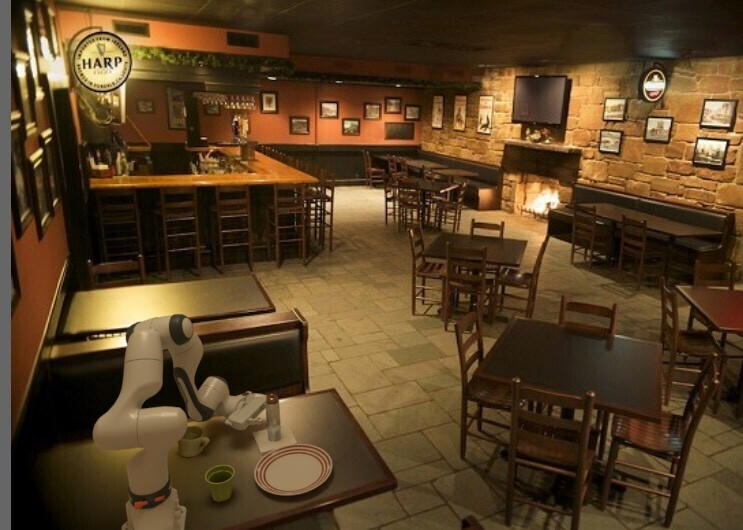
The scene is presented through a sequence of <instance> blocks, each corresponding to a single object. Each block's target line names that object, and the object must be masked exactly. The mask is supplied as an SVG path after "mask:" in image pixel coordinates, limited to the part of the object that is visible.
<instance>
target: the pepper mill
mask: <svg viewBox="0 0 743 530" xmlns="http://www.w3.org/2000/svg"><path fill="white" fill-rule="evenodd" d="M265 404H266V409H265V416H266V417H265V419H266V429H267V436H268V440H269V441H271V442H276V441H278V440H280V439H281V425H282V424H281V411H280V409H281V408H280V400H279V395H277V394H276V393H273V392H271V393H270V394H267V397H266V402H265Z"/></svg>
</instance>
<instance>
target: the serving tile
mask: <svg viewBox="0 0 743 530" xmlns="http://www.w3.org/2000/svg"><path fill="white" fill-rule="evenodd" d="M280 425H281V439H280V440H278V441H276V442H271V441H269V440H268V436H267V428H265V429H261V430H257V431H253V432H252V437H253V439H254V442H255V443H256V446H257V448H258V451H259V453H260V456H265V455H266V454H267V453H269V452H271V451H273V450H275V449H277V448H279V447H283V446H286V445H292V444H298V442H297V440H296V438H295V436H294V435H293V432H292V431H291V429H290V427H289V425H288V424H287V423H284V424H280Z"/></svg>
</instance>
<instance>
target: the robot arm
mask: <svg viewBox="0 0 743 530" xmlns="http://www.w3.org/2000/svg"><path fill="white" fill-rule="evenodd" d="M125 342H126V348H125V354H124V365H123V376H122V384H121V389H120V393H119V395H118V397H117V399H116V401H115V402H114V404H113V405H112V406H111V407H110V408H109V410H108V411H107V412H105V413H104V414H102V415H101V416H100V417H99V418H98V419H97V421H96V422H95V423H94V426H93V430H92V439H93V442H94V444H95V445H96V446H97V448H98V449H100V450H105V451H123V450H131V449H138V448H139V449H140V448H142V449H141V450H138V452H136V453H134V455H133V456H132V457H131V458H130V459H129V461H128V463H127V466H126V472H127V480H128V492H127V493H128V498H129V500H128V501H127V502H126V503H125V509H126V516H127V517H126V518H127V521H126V522H124V524H122V525H121V530H185V529H186V528H185V526H186V517H187V511H188V510H187V508H186V506H184V505H180V499H179V496H178V490H177V489H176V488H174V487H173V486H172V479H171V477H170V474H169V469H168V468H169V467H168V457H169V452H171V450H172V448H173V447H174V445H175V444H176V443H178V441H179V440H180V439H181V438H182V437H183V436H184V434H185V432H186V430H187V427H188V424H189V423H188V417H189V418H190V419H191V420H192V421H194V422H196V423H202V422H204V423H205V422H207V421H209V420H211V419H212V417H213V416H215V417H224V418H225V419H224V420H223V424H224V425H226V426H229V427H230V428H232V429H235V430H238V431H244V430H246V429H247V427H248V426H253V425H259V426H261V424H263V419H262V418H260V417H259V416H260V415H261V413H262V412H264V411H265V410H266V404H265V402H266V397H267V396H268V394H262V393H255V392H252V391H249V390H248V391H245V392H243V393H241V394H238V395H230V388H229V385H228V382H227V380H226V379H225V378H224V377H221V376H218V375H211V376H208V377H206V379H205V380H204V382H203V383H202V385H201V386H200V387H199V389H197V386H196V384H195V375H196V372H197V371H198V370H197V369H198V367H199V364H200V362H201V360H202V359H203V356H204V347H203V343H202V341H201V339H200V336H199V335H198V334H197V332H196V331H195V329H194V326H193V323H192V321H191V319H190V317H188V316H187V315H186V314H184V313H175V314H172V315H164V316H163V315H162V316H155V317H151V318H149V319H146V320H142V321H136V322H134V323H133V324H131V325H129V327H128V328H127V329H126V333H125ZM164 350H168V352H169V353H170V356H171V358H172V363H173V364H172V365H173V378H174V381H175V384H176V385H177V388H178V390H179V393H180V396H181V397H182V400H183V402H184V403H185V404H184V405H185V409H186V412H185V411H184V410H183V409H182V408H181V407H178V406H177V407H176V406H168V405H167V406H164V405H163V406H156V407H148V408H146V407H145V408H142V406H143V404H145V403H144V402H145V401H146V400H149V398H152V397H153V396H155V395H156V394H158V393H159V392H160V391H161V389H162V387H163V381H164V380H163V377H164V376H163V373H164V372H163V371H164V355H163V354H164V353H163V351H164ZM186 413H187V414H186ZM187 415H188V417H187Z"/></svg>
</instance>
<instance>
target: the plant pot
mask: <svg viewBox="0 0 743 530" xmlns="http://www.w3.org/2000/svg"><path fill="white" fill-rule="evenodd" d="M234 476H235V468H234V467H233V466H231V465H229V464H220V465H219V464H218V465H215V466H213V467H211V468H209V469H208V470H207V471H206V473H205V474H204V477H205V478H204V479H205V481H206V482H207V484H208V486H209V490H210V494H211V497H212V500H213V501H215V502H217V503H221V502H224V501H227V500H229V499H230V498H231V496H232V489H233V488H232V487H233V479H234Z"/></svg>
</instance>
